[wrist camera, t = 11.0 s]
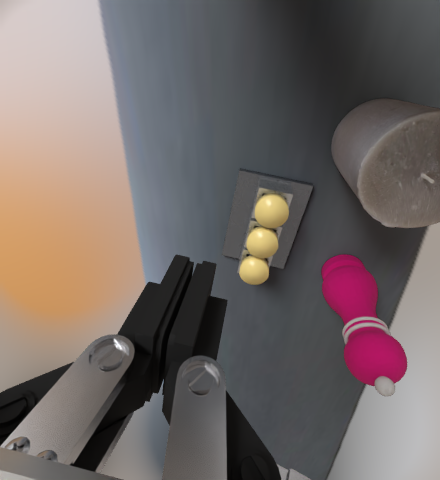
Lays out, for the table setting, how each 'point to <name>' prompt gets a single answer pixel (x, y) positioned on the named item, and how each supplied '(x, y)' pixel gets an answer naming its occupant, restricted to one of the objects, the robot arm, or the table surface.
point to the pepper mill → (362, 324)
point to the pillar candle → (392, 160)
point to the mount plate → (244, 213)
